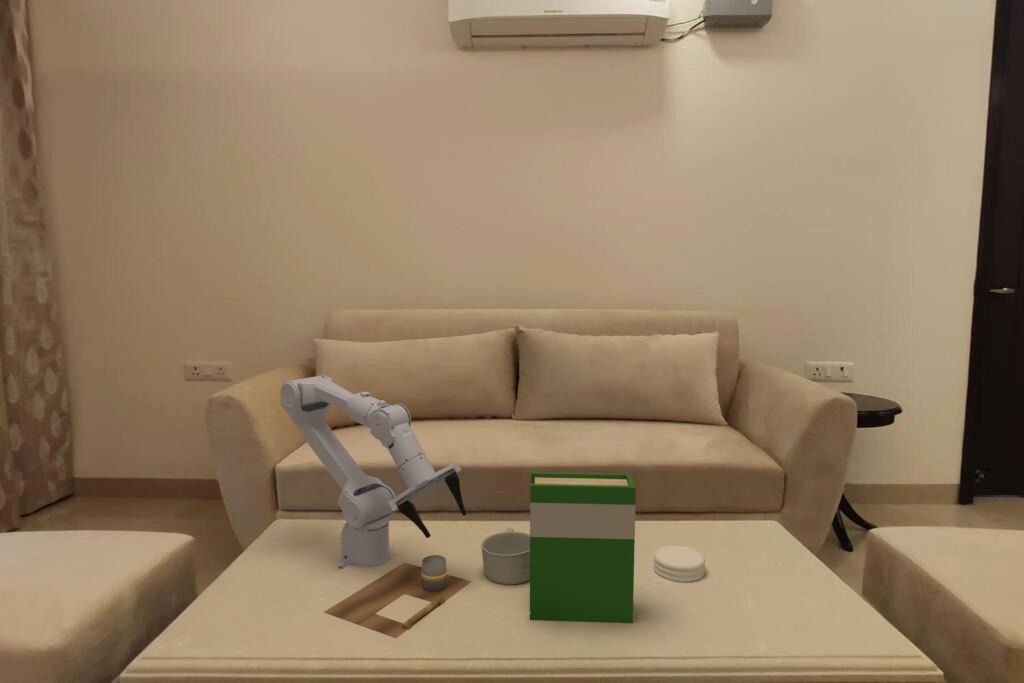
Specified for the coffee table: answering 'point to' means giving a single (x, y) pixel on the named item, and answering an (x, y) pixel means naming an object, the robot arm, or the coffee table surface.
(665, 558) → the stack of white coasters
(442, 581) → the gold-banded grey cylinder
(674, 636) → the coffee table surface
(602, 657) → the coffee table surface
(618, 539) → the hardback book
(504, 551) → the teacup
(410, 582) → the shelf board
